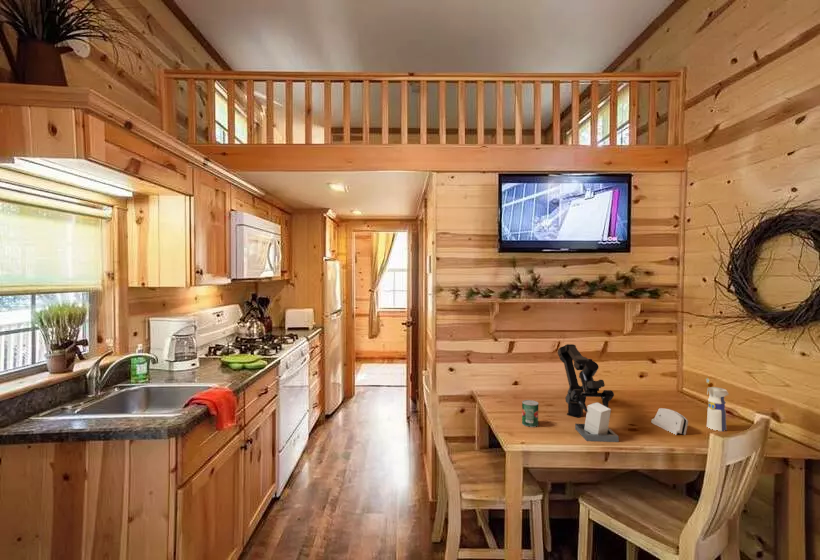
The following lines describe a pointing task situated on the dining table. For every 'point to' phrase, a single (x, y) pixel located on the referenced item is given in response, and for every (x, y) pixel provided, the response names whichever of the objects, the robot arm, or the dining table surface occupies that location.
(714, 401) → the white tall bottle
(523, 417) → the canned tomato
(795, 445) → the dining table surface
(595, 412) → the supplement box
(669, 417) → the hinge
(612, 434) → the square collar
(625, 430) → the dining table surface
